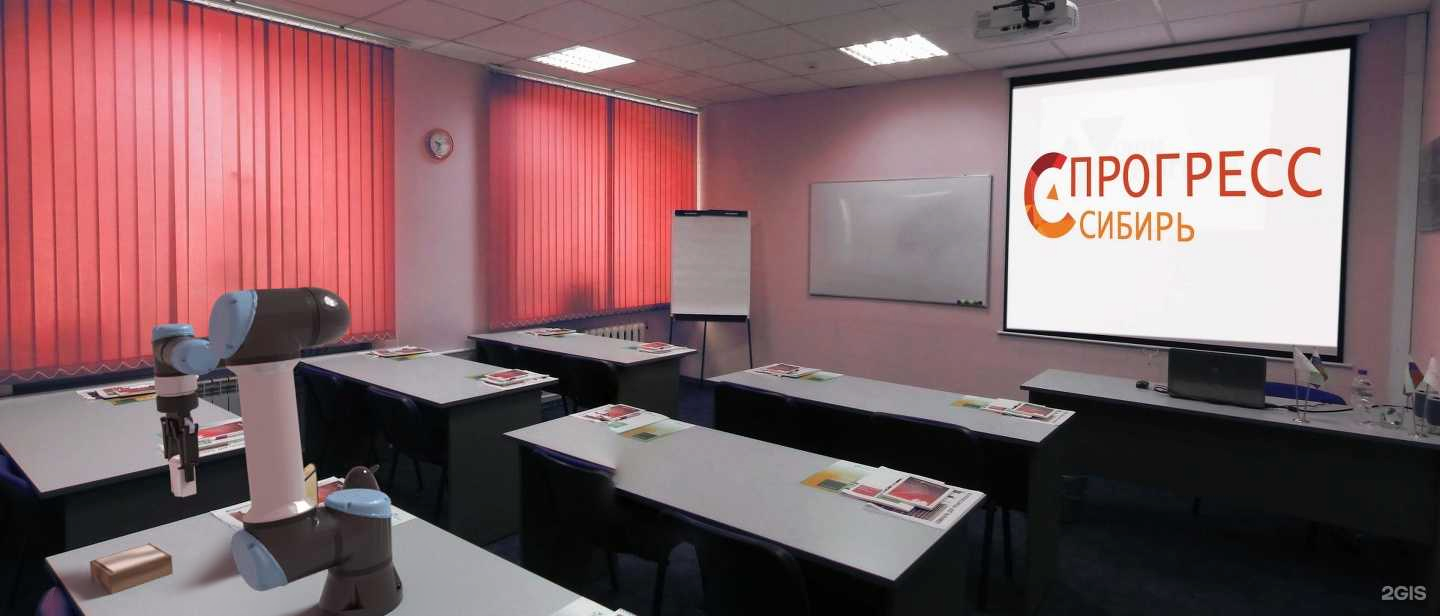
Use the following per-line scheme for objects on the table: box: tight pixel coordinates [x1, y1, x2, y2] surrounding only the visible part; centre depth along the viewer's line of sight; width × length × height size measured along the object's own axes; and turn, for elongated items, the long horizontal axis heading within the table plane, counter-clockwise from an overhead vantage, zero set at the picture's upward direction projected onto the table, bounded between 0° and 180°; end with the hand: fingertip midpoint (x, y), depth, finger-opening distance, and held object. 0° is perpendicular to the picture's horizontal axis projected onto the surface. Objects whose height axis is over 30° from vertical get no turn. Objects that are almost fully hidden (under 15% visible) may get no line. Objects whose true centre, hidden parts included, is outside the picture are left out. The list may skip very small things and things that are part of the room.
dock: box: [89, 542, 174, 595], centre depth 152 cm, size 11×10×4 cm
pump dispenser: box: [340, 464, 381, 492], centre depth 179 cm, size 10×10×15 cm
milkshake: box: [168, 455, 181, 497], centre depth 161 cm, size 4×5×10 cm
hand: (184, 492), depth 161 cm, fingers closed on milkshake, 4 cm apart
